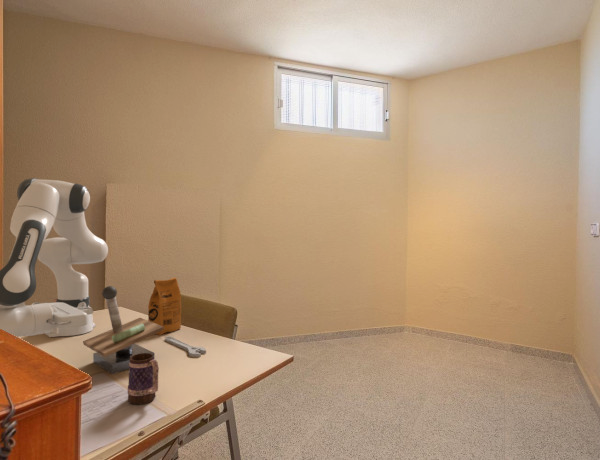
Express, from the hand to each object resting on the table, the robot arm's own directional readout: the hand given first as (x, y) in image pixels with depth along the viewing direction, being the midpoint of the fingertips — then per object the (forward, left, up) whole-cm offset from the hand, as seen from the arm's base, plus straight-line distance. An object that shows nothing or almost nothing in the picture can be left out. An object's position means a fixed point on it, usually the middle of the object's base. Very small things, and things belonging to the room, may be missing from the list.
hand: (91, 310), depth 127 cm
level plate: (+6, +8, -9) cm, 13 cm away
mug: (+34, -7, -19) cm, 39 cm away
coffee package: (-10, +40, -19) cm, 45 cm away
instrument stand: (+6, +8, -18) cm, 21 cm away
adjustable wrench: (+12, +29, -19) cm, 37 cm away
